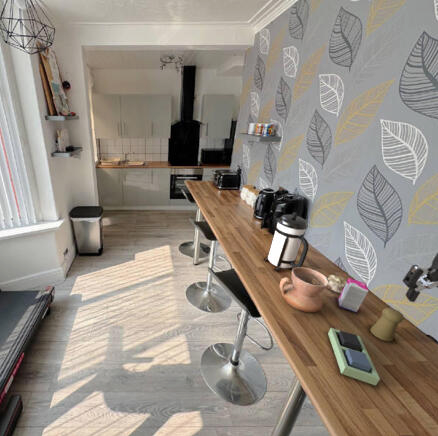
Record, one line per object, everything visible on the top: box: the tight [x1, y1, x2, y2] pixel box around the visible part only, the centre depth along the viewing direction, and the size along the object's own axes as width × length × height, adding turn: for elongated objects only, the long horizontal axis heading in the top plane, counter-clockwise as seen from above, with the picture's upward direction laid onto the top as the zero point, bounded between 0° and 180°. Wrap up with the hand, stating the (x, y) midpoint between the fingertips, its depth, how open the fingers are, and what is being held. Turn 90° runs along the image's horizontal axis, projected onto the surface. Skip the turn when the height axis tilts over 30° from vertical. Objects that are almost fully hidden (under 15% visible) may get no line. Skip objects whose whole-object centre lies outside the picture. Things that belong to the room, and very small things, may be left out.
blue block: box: [344, 349, 371, 372], centre depth 73 cm, size 5×5×4 cm
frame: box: [327, 327, 381, 386], centre depth 76 cm, size 8×16×3 cm, turn 157°
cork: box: [370, 307, 405, 342], centre depth 83 cm, size 6×6×11 cm
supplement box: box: [337, 277, 369, 314], centre depth 96 cm, size 6×6×12 cm
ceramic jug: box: [279, 266, 332, 314], centre depth 96 cm, size 18×14×14 cm
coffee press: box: [263, 211, 309, 272], centre depth 117 cm, size 17×16×30 cm
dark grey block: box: [337, 330, 362, 351], centre depth 79 cm, size 5×5×4 cm
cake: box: [326, 274, 348, 294], centre depth 108 cm, size 10×10×5 cm
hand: (430, 304), depth 64 cm, fingers open, 8 cm apart
